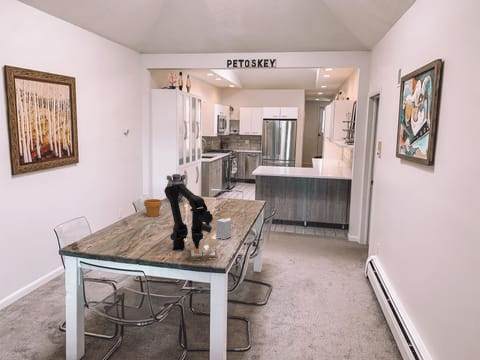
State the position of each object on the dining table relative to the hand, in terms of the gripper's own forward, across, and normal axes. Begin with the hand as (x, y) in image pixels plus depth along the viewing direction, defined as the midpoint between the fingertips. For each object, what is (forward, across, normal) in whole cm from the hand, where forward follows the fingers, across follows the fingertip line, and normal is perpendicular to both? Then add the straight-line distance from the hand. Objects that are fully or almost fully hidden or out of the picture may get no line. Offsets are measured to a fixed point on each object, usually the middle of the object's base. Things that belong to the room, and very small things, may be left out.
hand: (196, 246), depth 204 cm
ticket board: (+6, 0, -3) cm, 7 cm away
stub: (+4, 0, 0) cm, 5 cm away
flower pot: (+7, +98, +32) cm, 103 cm away
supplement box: (+6, +34, -20) cm, 40 cm away
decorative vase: (+7, +154, +14) cm, 155 cm away
